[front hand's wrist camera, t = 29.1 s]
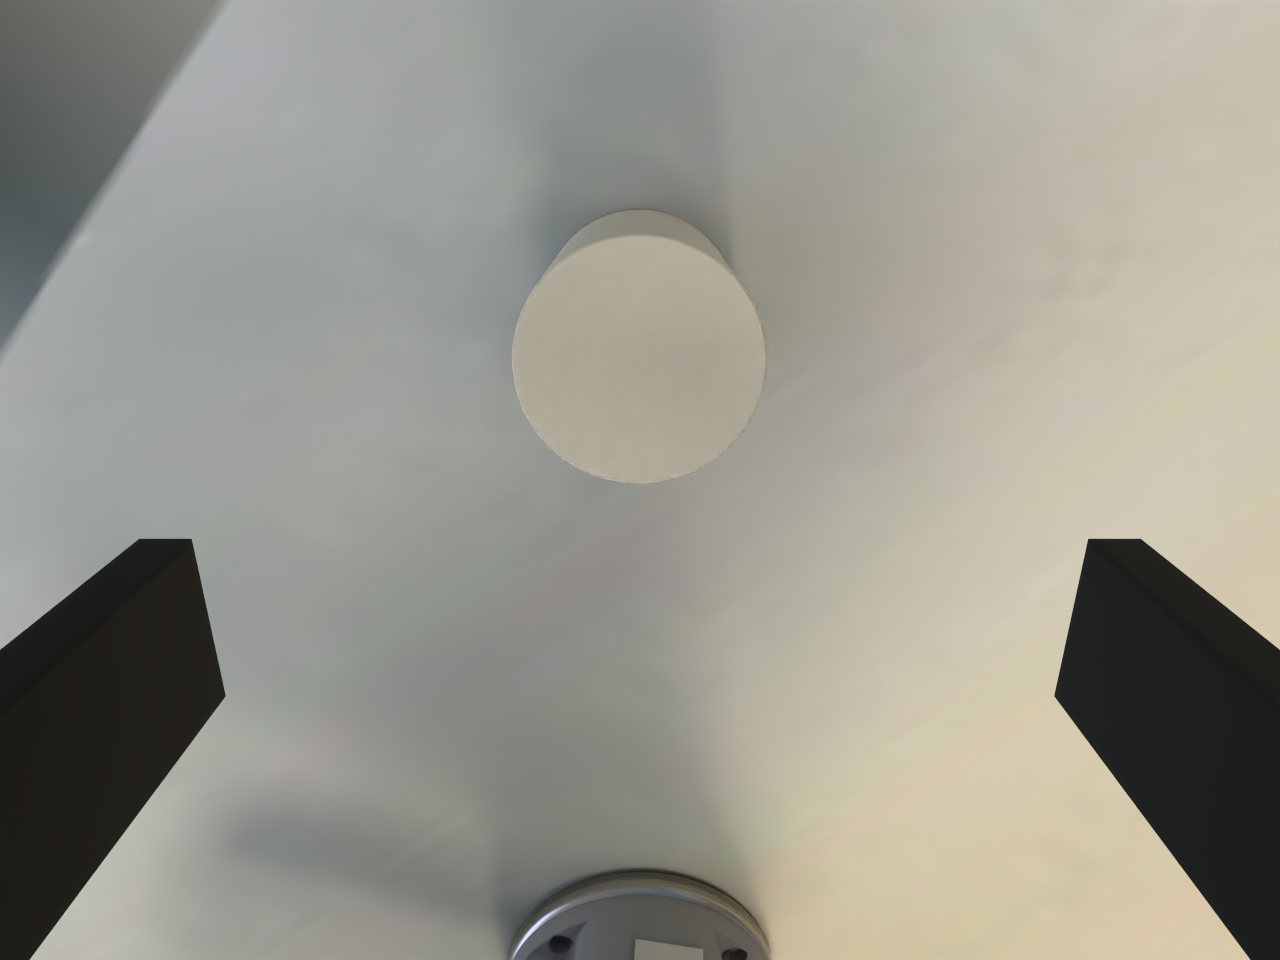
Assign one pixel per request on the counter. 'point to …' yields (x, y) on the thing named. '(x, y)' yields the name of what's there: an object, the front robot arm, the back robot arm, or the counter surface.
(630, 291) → the cylinder
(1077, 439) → the counter surface
